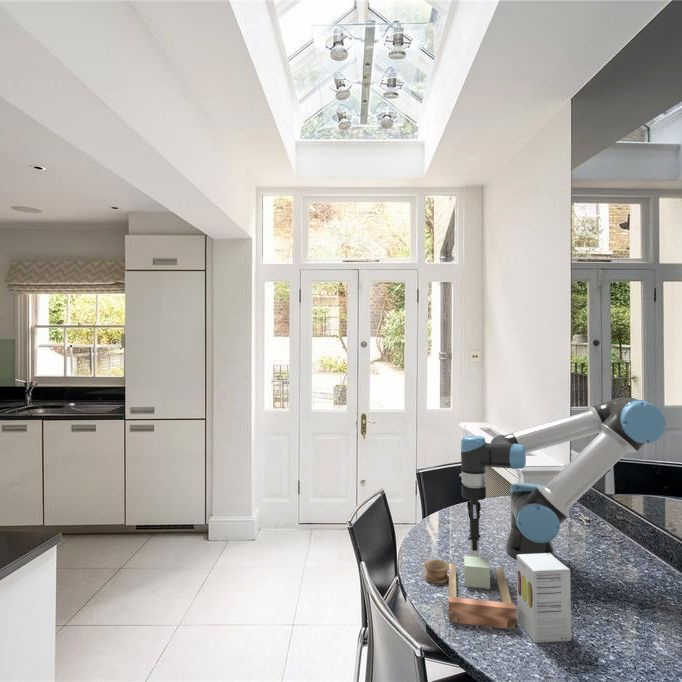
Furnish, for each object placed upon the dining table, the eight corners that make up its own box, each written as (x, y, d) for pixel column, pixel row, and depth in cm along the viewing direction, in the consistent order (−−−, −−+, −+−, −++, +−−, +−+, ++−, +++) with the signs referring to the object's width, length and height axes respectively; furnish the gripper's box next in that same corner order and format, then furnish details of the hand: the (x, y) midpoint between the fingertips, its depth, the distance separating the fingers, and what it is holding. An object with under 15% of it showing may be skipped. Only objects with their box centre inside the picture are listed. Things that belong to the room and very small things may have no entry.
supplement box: (516, 620, 119) (515, 553, 119) (551, 618, 119) (549, 551, 120) (535, 644, 109) (533, 570, 110) (572, 641, 110) (571, 568, 110)
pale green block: (488, 577, 142) (487, 557, 142) (490, 589, 135) (489, 568, 135) (464, 575, 143) (463, 555, 143) (465, 586, 136) (464, 565, 137)
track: (503, 576, 142) (503, 559, 142) (515, 629, 115) (515, 608, 115) (449, 571, 146) (448, 555, 146) (448, 621, 118) (448, 601, 119)
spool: (448, 573, 144) (448, 560, 144) (448, 584, 137) (448, 571, 137) (425, 571, 146) (424, 558, 146) (423, 582, 139) (423, 568, 139)
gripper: (461, 478, 158) (462, 549, 157) (461, 489, 145) (463, 567, 144) (484, 480, 156) (485, 551, 155) (487, 491, 143) (488, 569, 142)
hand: (474, 559), depth 150 cm, fingers closed
